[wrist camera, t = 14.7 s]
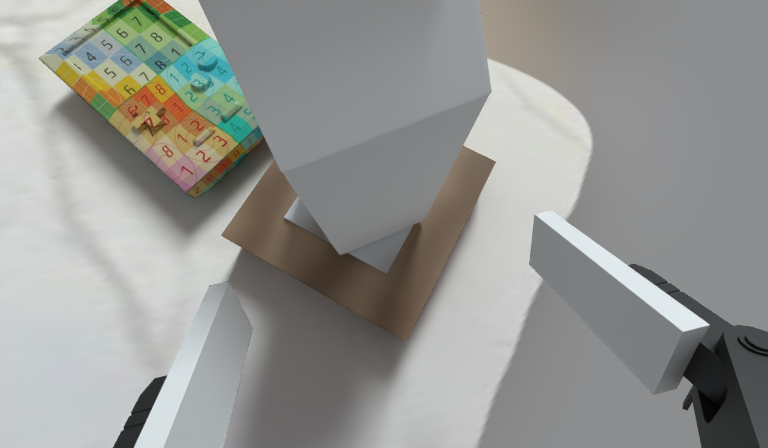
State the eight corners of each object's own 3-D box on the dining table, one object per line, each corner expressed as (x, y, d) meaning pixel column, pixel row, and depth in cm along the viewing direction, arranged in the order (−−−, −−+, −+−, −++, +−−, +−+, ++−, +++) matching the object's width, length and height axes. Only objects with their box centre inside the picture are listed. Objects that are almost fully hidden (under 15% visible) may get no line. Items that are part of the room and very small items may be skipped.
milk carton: (425, 220, 25) (561, -37, 6) (340, 256, 24) (214, 80, 6) (388, 144, 26) (412, -233, 8) (306, 175, 26) (126, -167, 7)
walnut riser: (242, 245, 28) (219, 234, 24) (335, 108, 32) (329, 78, 28) (402, 337, 27) (406, 342, 22) (480, 180, 30) (497, 160, 26)
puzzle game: (179, 189, 25) (27, 50, 28) (210, 207, 30) (76, 86, 33) (285, 91, 27) (135, -26, 31) (298, 122, 32) (166, 17, 35)
